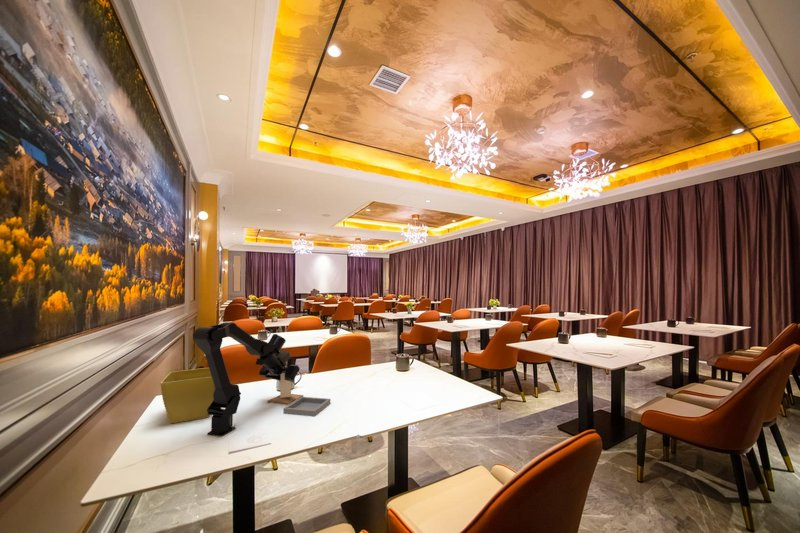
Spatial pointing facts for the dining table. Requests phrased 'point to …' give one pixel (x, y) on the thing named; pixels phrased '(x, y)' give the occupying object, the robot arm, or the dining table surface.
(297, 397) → the pad
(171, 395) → the flower pot
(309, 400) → the bin
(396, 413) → the dining table surface
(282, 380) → the carton
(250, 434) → the dining table surface
